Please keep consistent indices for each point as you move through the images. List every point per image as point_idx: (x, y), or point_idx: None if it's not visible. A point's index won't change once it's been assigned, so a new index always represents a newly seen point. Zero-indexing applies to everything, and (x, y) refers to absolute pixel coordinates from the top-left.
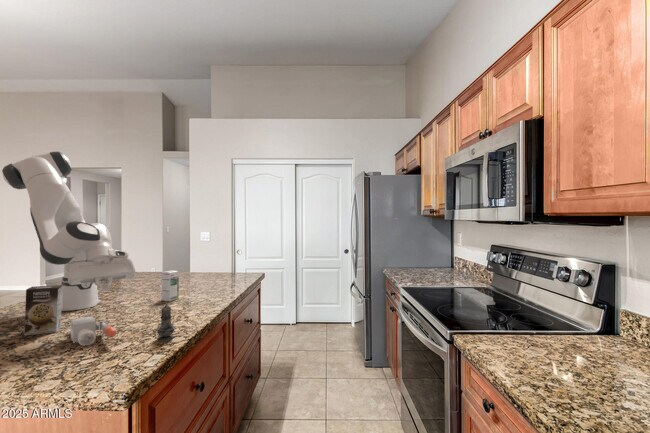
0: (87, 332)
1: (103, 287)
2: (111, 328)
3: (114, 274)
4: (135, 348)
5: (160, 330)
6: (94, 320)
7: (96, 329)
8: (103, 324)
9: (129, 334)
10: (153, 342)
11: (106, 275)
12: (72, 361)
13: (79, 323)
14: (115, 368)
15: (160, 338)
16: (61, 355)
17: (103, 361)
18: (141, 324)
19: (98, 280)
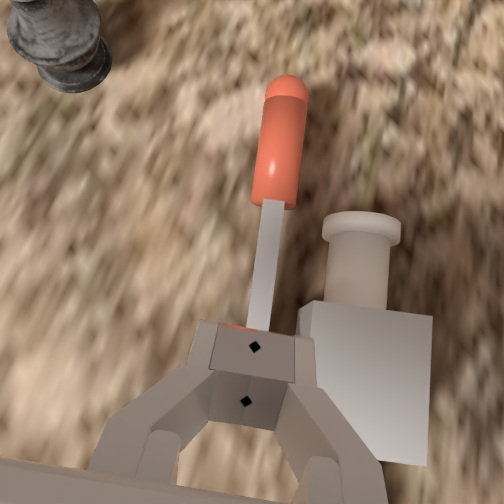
0: (369, 214)
1: (277, 335)
2: (284, 105)
3: (25, 467)
4: (218, 44)
5: (93, 5)
6: (315, 320)
7: None
8: (265, 300)
9: (157, 244)
10: (136, 53)
11: (194, 489)
12: (431, 92)
13: (400, 320)
14: None
15: (98, 54)
16: (454, 190)
17: (348, 10)
18: (30, 376)
19: (335, 470)
